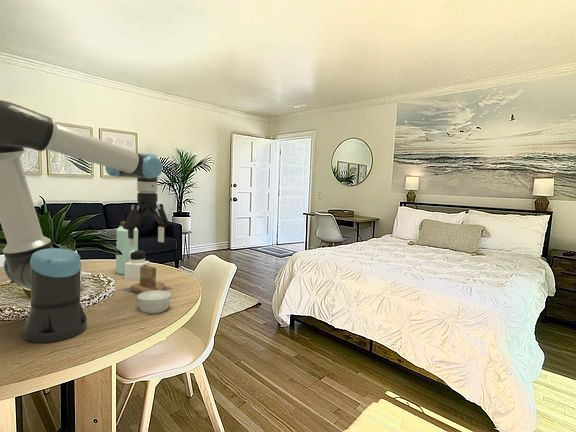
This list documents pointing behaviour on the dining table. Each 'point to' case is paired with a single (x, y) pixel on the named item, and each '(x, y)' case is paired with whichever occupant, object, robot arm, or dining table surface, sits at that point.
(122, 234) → the water bottle
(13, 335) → the dining table surface
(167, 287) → the mat
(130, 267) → the container
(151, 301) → the ramekin
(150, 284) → the lid
